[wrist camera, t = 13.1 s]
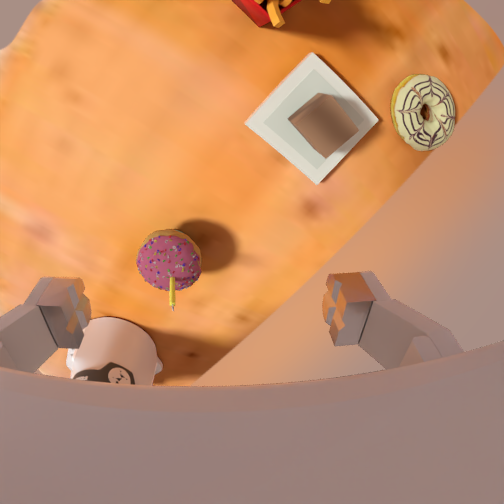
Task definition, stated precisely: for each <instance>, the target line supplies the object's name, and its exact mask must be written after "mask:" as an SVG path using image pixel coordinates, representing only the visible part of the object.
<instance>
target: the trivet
mask: <svg viewBox="0 0 504 504" xmlns="http://www.w3.org/2000/svg"><path fill="white" fill-rule="evenodd" d="M317 93H323V94H328V95H332V96H333V97H334V99H335V100H336V101H337V102H338V103H339V105H340V106H341V107H342V109H343V110H344V111H345V112H346V114H347V115H348V116H349V118H350V119H351V120H352V121H353V123H354V124H355V125H356V127H357V128H358V129H359V131H358V132H357V133H356V134H355V135H354V136H352V137H351V138H350V139H349V140H348V141H346V142H345V143H344V144H343V145H342V146H341V147H339V148H338V149H337V150H336V151H335V152H333V153H332V154H331V155H330V156H329V157H328V158H326V159H325V158H324V157H323V156H322V155H321V154H319V153H318V152H317V151H316V150H314V149H313V147H312V146H311V145H310V144H309V143H308V142H307V141H306V139H305V138H304V137H303V136H302V135H301V134H300V133H299V131H298V130H297V129H296V128H295V127H294V126H293V125H292V124H291V123H290V121H289V120H288V119H287V118H289V117H290V116H291V115H292V114H293V113H294V112H296V111H297V110H298V109H299V108H300V107H302V106H303V105H304V104H305V103H306V102H307V101H309V100H310V99H311V98H312V97H314V96H315V95H316V94H317ZM377 122H378V118H377V117H376V116H375V115H374V114H373V113H372V112H371V110H370V109H369V108H368V107H367V106H366V105H365V104H364V103H363V102H362V101H361V100H360V98H359V97H358V96H357V95H356V94H355V93H354V92H353V91H352V90H351V89H350V88H349V87H348V86H347V85H346V84H345V83H344V82H343V81H342V80H341V79H340V78H339V77H338V76H337V75H336V74H335V73H334V72H333V71H332V70H331V69H330V68H329V67H328V66H327V65H326V64H325V63H324V62H323V61H322V60H321V59H319V58H318V57H317V56H316V55H315V54H314V53H313V52H311V53H309V54H308V55H307V56H306V57H305V58H304V59H303V60H302V61H301V62H300V63H299V64H298V65H297V66H296V67H295V68H294V69H293V70H292V71H291V72H290V73H289V74H288V75H287V76H286V77H285V78H284V79H283V80H282V81H281V82H280V84H279V85H278V86H277V87H276V88H275V89H274V90H273V91H272V92H271V93H270V94H269V95H268V96H267V97H266V99H265V100H264V101H263V102H262V103H261V104H260V105H259V106H258V107H257V108H256V110H255V111H254V112H253V113H252V114H251V115H250V116H249V117H248V119H247V120H246V121H245V122H244V123H245V125H247V126H248V127H249V128H250V129H252V130H253V131H254V132H255V133H256V134H258V135H259V136H260V137H261V138H263V139H264V140H265V141H266V142H267V143H269V144H270V145H271V146H272V147H273V148H275V149H276V150H277V151H278V152H279V153H281V154H282V155H283V156H284V157H285V158H286V159H288V160H289V161H290V162H291V163H292V164H293V165H295V166H296V167H297V168H298V169H299V170H300V171H301V172H303V173H304V174H305V175H306V176H307V177H308V178H309V179H310V180H312V181H313V182H314V183H315V184H316V185H318V184H319V183H320V182H321V180H322V179H323V178H324V177H325V176H326V175H327V174H328V173H329V172H330V171H331V170H332V169H333V168H334V167H335V166H336V165H337V164H338V163H339V162H340V160H341V159H342V158H343V157H344V156H345V155H346V154H347V153H348V152H349V151H350V150H351V149H352V148H353V147H354V146H355V145H356V144H357V143H358V142H359V140H360V139H361V138H362V137H363V136H364V135H365V134H366V133H367V132H368V131H369V130H370V129H371V128H372V127H373V126H374V125H375V124H376V123H377Z"/></svg>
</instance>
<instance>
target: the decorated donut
mask: <svg viewBox="0 0 504 504" xmlns="http://www.w3.org/2000/svg"><path fill="white" fill-rule="evenodd" d="M423 105H424V106H425V107H426V109H427V117H426V118H425V119H423V117H422V116H421V114H420V111H421V109H422V106H423ZM390 111H391V118H392V122H393V124H394V127H395V130H396V131H397V133H398V134H399V135H400V136H401V137H402V139H403V140H404V141H405V142H406V143H407V144H409V145H411V146H412V147H413V148H414V149H415V150H418V151H428V150H433V149H435V148H438V147H439V146H441V145H442V144H444V143H445V142H446V141H447V140H448V139H449V137H450V136H451V135H452V133H453V130H454V124H455V106H454V102H453V99H452V96H451V94H450V92H449V90H448V89H447V88H446V86H445V85H444V84H443V83H442V82H441V81H440V80H439V79H437V78H436V77H433V76H429V75H425V74H413V75H410V76H408V77H406V78H405V79H404V80H403V81H402V82H400V83H399V85H398V86H397V87H396V88H395V90H394V92H393V95H392V98H391V103H390Z"/></svg>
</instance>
